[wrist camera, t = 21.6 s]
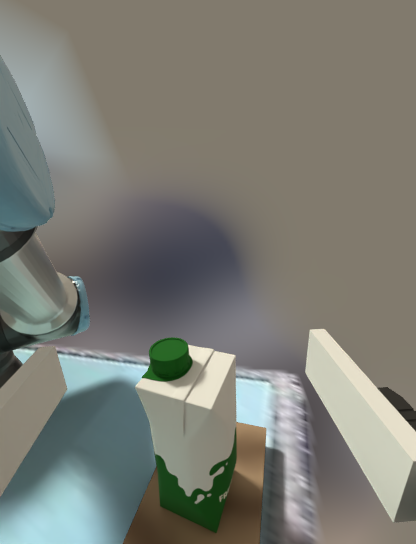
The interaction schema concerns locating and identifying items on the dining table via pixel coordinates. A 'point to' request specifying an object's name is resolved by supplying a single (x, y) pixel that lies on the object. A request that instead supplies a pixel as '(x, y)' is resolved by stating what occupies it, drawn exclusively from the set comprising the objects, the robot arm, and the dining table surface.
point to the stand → (237, 510)
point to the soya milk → (191, 427)
